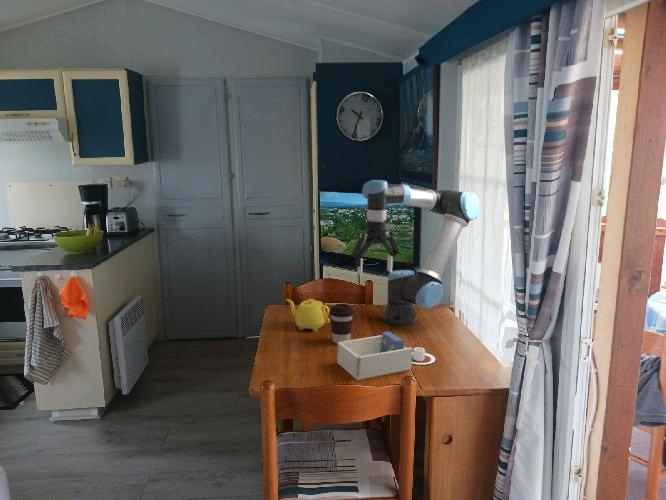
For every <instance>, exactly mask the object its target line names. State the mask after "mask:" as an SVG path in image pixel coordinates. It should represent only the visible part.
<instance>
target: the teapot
mask: <svg viewBox="0 0 666 500" xmlns="http://www.w3.org/2000/svg"><path fill="white" fill-rule="evenodd" d="M285 301H288V303H289V305H290V311H291V314H292V316H294V319H295V320H294V322H295V324H296V326H297V327H298V330H299V331H304V330H306V329H307V330H309V329H310V330H312V332H315V333H317V332H319V329H320V328H322V327H324V326H325V324H329V323H331V318H329V317H328V316H329V315H330V313H329V311H330V308H329V306H328V305H324V304H323V302H322V301H320V300H315V299H314V298H308V299H306V300H304V301H302V302H300V304H299V305H298V306H297V307H298V308H296V306H295V303H294V301H293V300H292V299H287V298H286V299H285Z"/></svg>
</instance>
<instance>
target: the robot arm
mask: <svg viewBox="0 0 666 500" xmlns="http://www.w3.org/2000/svg"><path fill="white" fill-rule="evenodd" d="M361 193H362V196H363V197H364V198H365V200H366V199H367V200H366V201H367V202H366V203H367V205H366V207H367V209H366V210H367V211H366V219H367V221H366V233H362V232H359V235H358V239H357V241H356V244H355V245H354V246H355V247H354V249H353V251H352V253H351V257H353V258H355V266H356V267H357V275H359V276H363V273H364V271H363V267H364V265H363V264H364V258H362V257H363V256H364V255H365V253H366V252H367V251H368V249H369V248H370V247H371V246H372V245H382V246H383V248H384V249H385V250H386V251H387V253H388V254H387V267H386V271H387V272H389V273H388V279H387V299H386V300H387V304H386V306H385V309H384V311H383V315H382V321H384V323H387V324H390V325H395V326H410V325H413V324H416V323H417V314H416V310H415V306H414V305H417V306H418V307H420V308H424V309H425V308H426V309H431V308H433V307H436V306H437V305H438V304H439V303H440V302H441V300H442V298H443V295H444V292H443V291H444V288H443V286H442V284H443V279H442V275H443V273H444V270H445V268H446V266H447V264H448V262H449V260H450V257H451V255H452V253H453V251H454V248H455V246H456V244H457V242H458V239H459V237H460V234H461V233H462V230H463V229H464V228H466V227H468V225H469V223H470V221H474V220H476V219H477V218H478V217H479V215H480V212H481V208H480V209H479V202H480V199H479V197H478V196H477V195H476V194H475V193H472V192H468V191H458V190H448V189H447V190H446V189H443V190H441V189H425V190H422V189H416V188H411V187H410V186H409V185H408V184H402V183H400V184H399V183H398V184H395V183H394V184H393V183H388V181H387V180H384V179H383V180H381V179H371V180H369V181H366V182H365V183H364V184H363V186H362V189H361ZM393 204H394V205H395V204H396V205H397V204H398V205H403V206H409V207H416V208H421V209H423V210H424V211H426V212H427V211H428V212H431V213H434V214H437V215H441V216H442V217H443V222H442V225H441V227H440V229H439V231H438V234H437V236H436V237H435V240H434V242H433V244H432V246H431V249H430V251H429V253H428V256H427V258H426V261H425V262H424V264H423V267H422V269H419V270H417V271H416V274H415V271H414V270H411V269H400V270H393V265H394V264H395V257H396V256H397V255H398V254H400V252H399V248H398V247H397V244H396V241H395V239H394V234H393V231H391V230H387V221H386V220H387V208H388V207H387V206H388V205H393ZM479 211H480V212H479ZM386 230H387V231H386ZM386 238H387V240H388V241H386ZM388 243H389V244H390V245H389V244H388Z"/></svg>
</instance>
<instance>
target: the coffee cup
mask: <svg viewBox="0 0 666 500" xmlns="http://www.w3.org/2000/svg"><path fill="white" fill-rule="evenodd" d="M329 310H330V311H329V315H330V330H331V338H332V343H334V344H337V343H338V342H343V341H349V340H351V336H352V335H351V334H352V330H353V319H354V318H353V315H355V309H354V308H352V307H351V305H350V304H348V303H337V304H334V305H333V307H330V308H329Z"/></svg>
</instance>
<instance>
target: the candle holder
mask: <svg viewBox="0 0 666 500" xmlns="http://www.w3.org/2000/svg"><path fill="white" fill-rule="evenodd" d="M426 357H428V358H429V359H430V361H428V362H423V361H424V360H425V358H426ZM412 360H413V361H412V364H413V365H420V366H422V365H423V366H425V365H430V364H432V363H434V362H435V361H436V357H435V356H434V355H432V354H430V353H427V352H426V350H425V348H423V347H414V348H413V350H412ZM414 361H415V362H414Z"/></svg>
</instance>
